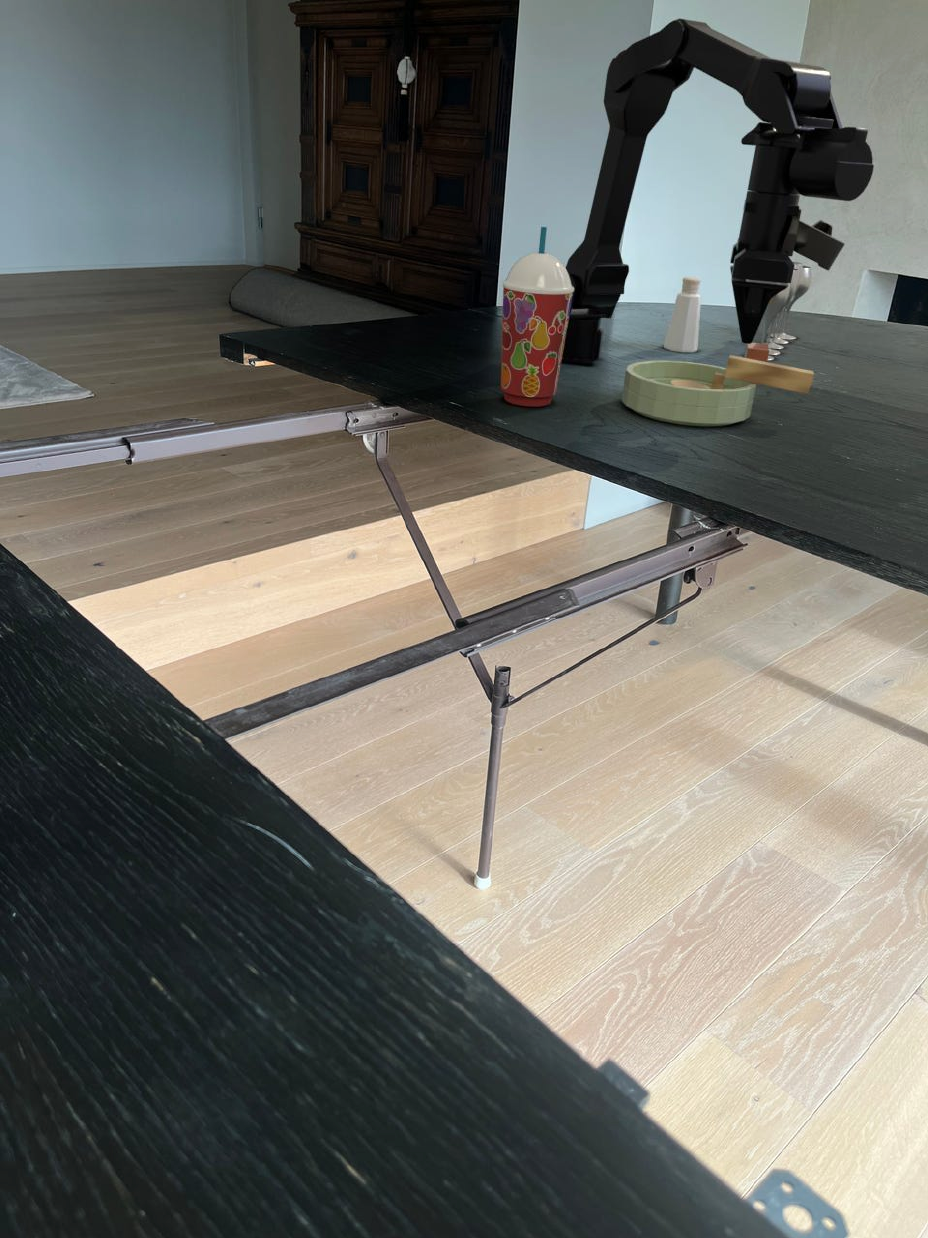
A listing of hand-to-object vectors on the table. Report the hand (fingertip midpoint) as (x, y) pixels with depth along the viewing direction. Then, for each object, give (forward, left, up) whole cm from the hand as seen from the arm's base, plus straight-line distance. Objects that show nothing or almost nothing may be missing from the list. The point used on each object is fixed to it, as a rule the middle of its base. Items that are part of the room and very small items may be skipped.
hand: (745, 336), depth 113 cm
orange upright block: (+3, +27, -10) cm, 29 cm away
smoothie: (-25, -5, -10) cm, 27 cm away
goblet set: (+7, +53, -10) cm, 54 cm away
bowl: (-6, 0, -10) cm, 11 cm away
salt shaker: (-8, +41, -10) cm, 43 cm away
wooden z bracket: (0, 0, -9) cm, 9 cm away
